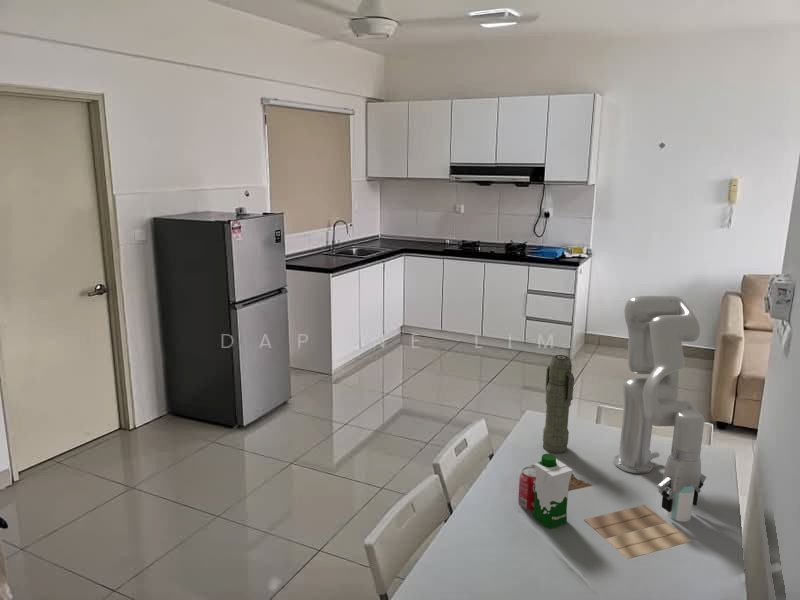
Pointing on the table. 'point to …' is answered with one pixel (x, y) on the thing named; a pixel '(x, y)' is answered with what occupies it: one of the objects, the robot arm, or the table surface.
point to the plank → (624, 521)
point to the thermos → (558, 404)
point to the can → (681, 504)
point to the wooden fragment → (575, 483)
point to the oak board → (648, 540)
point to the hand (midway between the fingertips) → (679, 506)
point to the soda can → (527, 488)
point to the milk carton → (551, 491)
